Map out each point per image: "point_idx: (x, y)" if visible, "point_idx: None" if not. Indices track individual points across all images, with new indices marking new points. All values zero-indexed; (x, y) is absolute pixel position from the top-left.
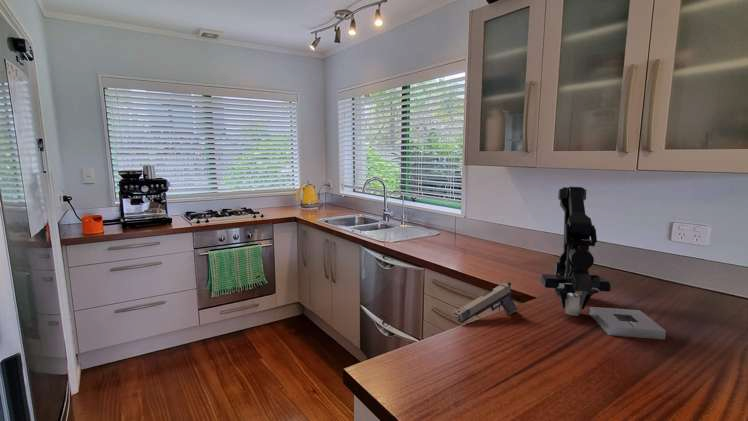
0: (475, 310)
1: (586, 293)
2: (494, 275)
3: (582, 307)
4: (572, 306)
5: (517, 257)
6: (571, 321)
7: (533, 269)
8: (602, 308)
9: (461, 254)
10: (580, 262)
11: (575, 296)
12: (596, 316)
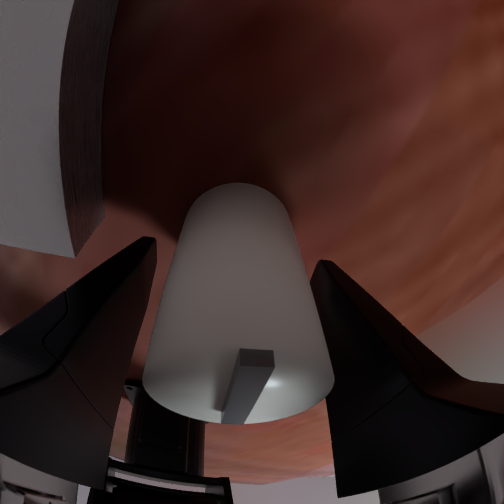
0: None
1: (44, 398)
2: (329, 445)
3: (148, 247)
4: (278, 241)
5: (216, 472)
6: (348, 66)
7: (207, 461)
8: (1, 227)
9: (319, 468)
10: None
11: (266, 362)
12: (79, 75)
